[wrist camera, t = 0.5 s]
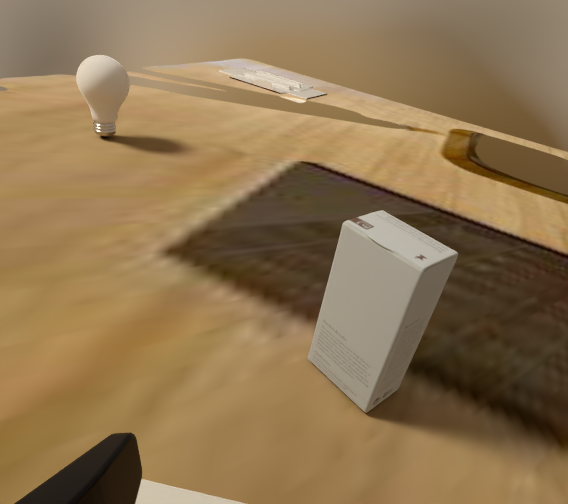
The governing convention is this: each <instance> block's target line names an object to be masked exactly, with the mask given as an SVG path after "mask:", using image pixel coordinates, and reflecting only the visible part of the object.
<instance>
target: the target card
mask: <svg viewBox="0 0 568 504" xmlns="http://www.w3.org/2000/svg"><path fill="white" fill-rule="evenodd" d="M135 504H245V503H241V502H237V501H232V500H228V499H224V498H220V497H215V496H211V495H207V494H203V493H199V492H194V491H190V490H186V489H182V488H177V487H173V486H169V485H165V484H160V483H156V482H152V481H148V480H143V479H141V484H140V487H139V491H138V495H137V499H136V503H135Z"/></svg>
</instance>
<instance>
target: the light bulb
mask: <svg viewBox="0 0 568 504" xmlns="http://www.w3.org/2000/svg"><path fill="white" fill-rule="evenodd" d="M76 79H77V85H78V87H79V90H80V92H81V93H82V95H83V97H84V98H85V100H86V101H87V103H88V105H89V107H90V110H91V116H92V118H93V119H94V123H93V124H94V131H95V133H97V134H98V135H100V136H102V137H110V136H112V135H114V134H115V133H116V125H115V121H116V120H117V117H118V111H119V108H120V107H121V105H122V103H123V102H124V100H125V98H126V97H127V95H128V92H129V86H130V84H129V78H128V75H127V73H126V71H125V69H124V68H123V67H122V65H121V64H120V63H119V62H117V61H116V60H114V59H113V58H110V57H108V56H105V55H94V56H91V57H88V58H87V59H85V60H84V61H83V62H82V63H81V64H80V66H79V68H78V71H77V77H76Z"/></svg>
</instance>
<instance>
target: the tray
mask: <svg viewBox="0 0 568 504" xmlns="http://www.w3.org/2000/svg"><path fill="white" fill-rule="evenodd" d="M219 72H222V73H225V74H228V75H231V76H233V77H230V78H236V79H239V80H242V81H245V82H248V83H251V84H254V85H257V86H260V87H264V88H267V89H270V90H273V91H276V92H279V93H280V94H284V93H287V94H291V95H294V96H297V97H300V98H303V99H307V98H310V97H314V96H319V95H323V94H327V93H324V92H320V91H317V90H314V89H311V88H313V87H312V86H309V85H306V84H303V83H300V82H297V81H293V80H290V79H287V78H284V77H280V76H277V75H274V74H271V73H267V72H264V71H262V72H261V71H257V72H256V71H253V70H249V69H246V68H240V69H228V70H219ZM280 97H282V98H285V99H288V100H291V101H294V102H297V103H303V102H306V100H301V99H296V98H290V97H283V96H280Z"/></svg>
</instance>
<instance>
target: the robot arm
mask: <svg viewBox="0 0 568 504" xmlns="http://www.w3.org/2000/svg"><path fill="white" fill-rule="evenodd" d="M141 479H142V466H141V461H140V455H139V450H138V445H137V440H136V437H135V435H134V434H133V433H115V434H111V435H110V436H108V437H107V438H105V439H104V440H103V441H101V442H100V443H98V444H97V445H96V446H94V447H93V448H92V449H90V450H89V451H87V452H86V453H85V454H83V455H82V456H80V457H79V458H78V459H76V460H75V461H73V462H72V463H71V464H69V465H68V466H66V467H65V468H64V469H62V470H61V471H59V472H58V473H57V474H55V475H54V476H52V477H51V478H50V479H48V480H47V481H45V482H44V483H43V484H41V485H40V486H38V487H37V488H36V489H34V490H33V491H31V492H30V493H29V494H27V495H26V496H24V497H23V498H22V499H20V500H19V501H17V502H16V503H15V504H135V503H136V499H137V495H138V491H139V487H140V484H141Z"/></svg>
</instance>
